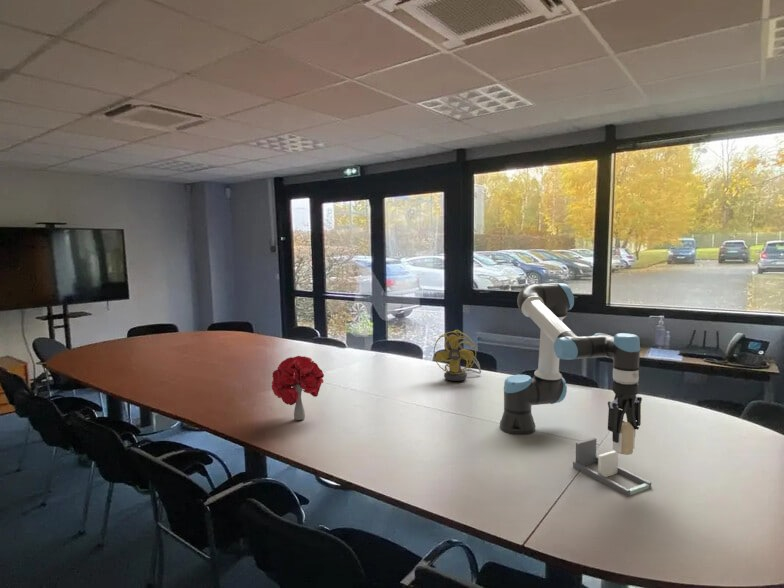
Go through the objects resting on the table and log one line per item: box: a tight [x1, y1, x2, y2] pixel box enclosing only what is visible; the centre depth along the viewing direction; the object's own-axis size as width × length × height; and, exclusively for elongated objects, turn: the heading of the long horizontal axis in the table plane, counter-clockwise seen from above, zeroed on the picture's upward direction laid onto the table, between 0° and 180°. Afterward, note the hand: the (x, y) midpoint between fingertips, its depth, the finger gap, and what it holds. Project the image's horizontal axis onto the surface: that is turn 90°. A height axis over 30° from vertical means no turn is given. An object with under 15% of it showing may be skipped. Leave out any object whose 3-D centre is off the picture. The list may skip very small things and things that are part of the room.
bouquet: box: [271, 355, 325, 421], centre depth 215 cm, size 22×24×30 cm
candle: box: [616, 420, 634, 456], centre depth 150 cm, size 6×6×10 cm
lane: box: [572, 437, 652, 497], centre depth 156 cm, size 22×11×9 cm, turn 25°
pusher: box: [597, 449, 619, 478], centre depth 157 cm, size 1×8×8 cm, turn 115°
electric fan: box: [433, 329, 482, 382], centre depth 281 cm, size 26×32×30 cm
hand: (623, 448), depth 150 cm, fingers closed on candle, 5 cm apart
